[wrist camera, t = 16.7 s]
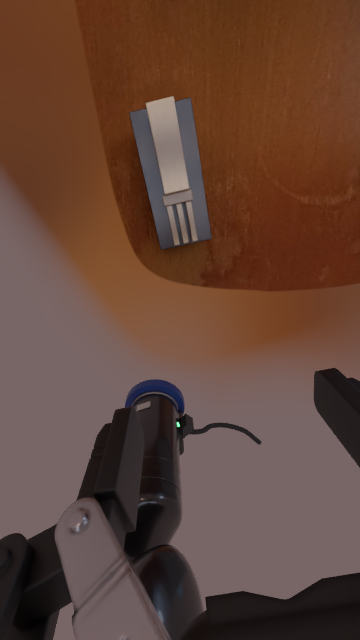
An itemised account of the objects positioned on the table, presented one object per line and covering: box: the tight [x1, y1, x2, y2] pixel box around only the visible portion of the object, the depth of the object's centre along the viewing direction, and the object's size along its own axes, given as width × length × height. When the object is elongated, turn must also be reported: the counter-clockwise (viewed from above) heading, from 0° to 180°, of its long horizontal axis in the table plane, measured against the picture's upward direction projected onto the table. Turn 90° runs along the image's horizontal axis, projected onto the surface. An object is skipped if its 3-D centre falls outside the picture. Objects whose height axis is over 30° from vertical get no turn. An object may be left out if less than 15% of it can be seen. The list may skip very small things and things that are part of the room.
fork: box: [146, 96, 198, 245], centre depth 24 cm, size 12×3×3 cm, turn 12°
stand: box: [129, 98, 212, 250], centre depth 29 cm, size 13×6×7 cm, turn 12°
